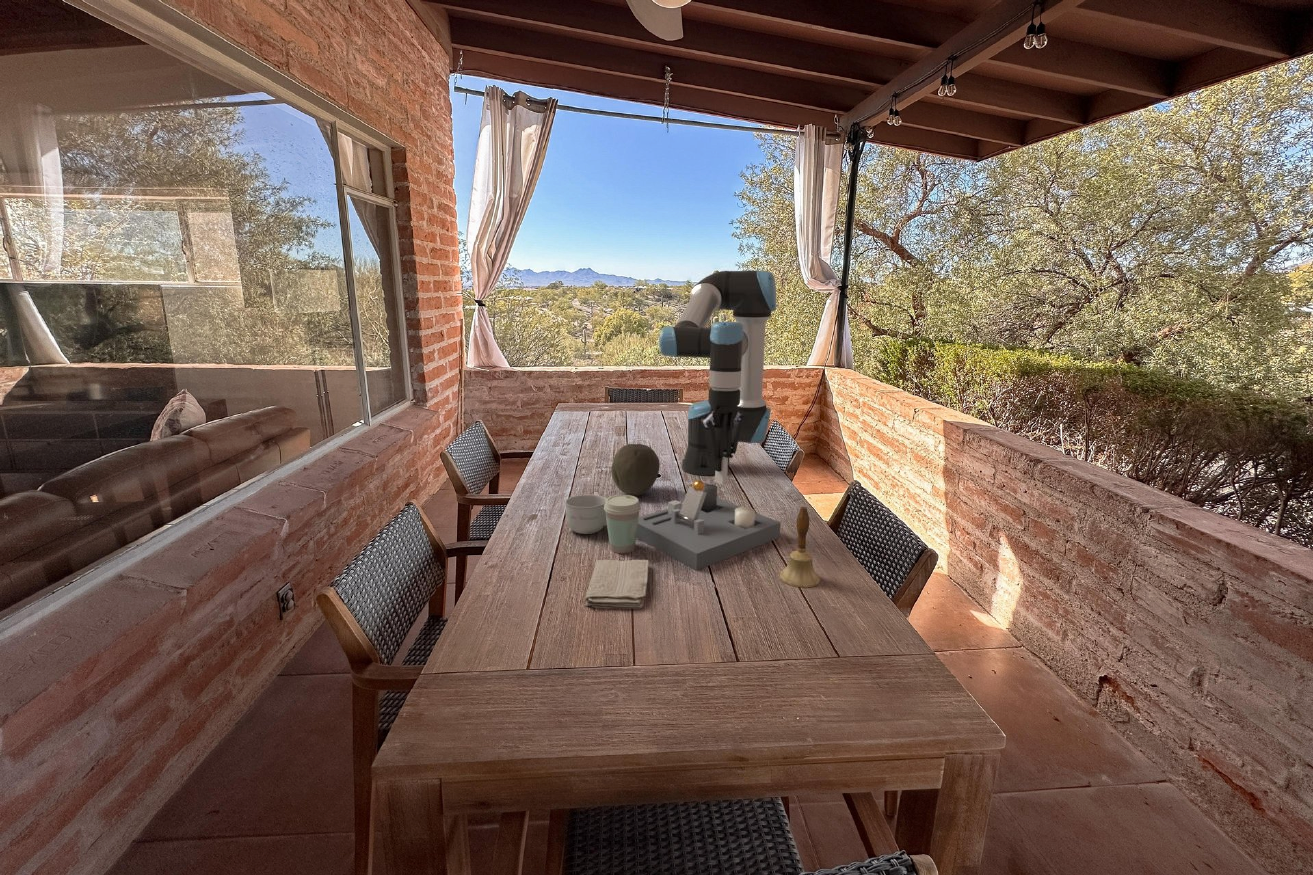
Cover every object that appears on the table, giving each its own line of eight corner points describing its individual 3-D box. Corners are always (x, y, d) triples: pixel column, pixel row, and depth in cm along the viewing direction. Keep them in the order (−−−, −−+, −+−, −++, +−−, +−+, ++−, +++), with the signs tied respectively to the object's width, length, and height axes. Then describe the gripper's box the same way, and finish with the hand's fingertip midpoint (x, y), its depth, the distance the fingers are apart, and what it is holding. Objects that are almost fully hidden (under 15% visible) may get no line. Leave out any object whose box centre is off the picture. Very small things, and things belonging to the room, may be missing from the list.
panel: (711, 509, 161) (712, 485, 159) (779, 537, 143) (781, 510, 141) (630, 534, 144) (630, 508, 142) (696, 570, 126) (697, 540, 124)
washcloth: (583, 611, 111) (583, 596, 110) (595, 567, 128) (594, 554, 127) (646, 612, 110) (646, 597, 110) (649, 568, 128) (649, 555, 127)
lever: (681, 518, 141) (695, 478, 142) (699, 526, 137) (714, 485, 137) (673, 516, 140) (688, 476, 140) (691, 524, 135) (706, 482, 135)
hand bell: (791, 590, 118) (796, 517, 114) (772, 571, 126) (777, 502, 122) (827, 585, 120) (834, 513, 116) (807, 567, 128) (812, 499, 124)
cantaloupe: (658, 502, 166) (659, 451, 162) (609, 501, 166) (608, 451, 162) (659, 485, 179) (660, 439, 176) (614, 485, 180) (613, 438, 176)
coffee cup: (636, 557, 131) (636, 508, 128) (599, 554, 133) (599, 505, 130) (644, 542, 140) (644, 495, 137) (610, 538, 141) (609, 492, 138)
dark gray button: (707, 502, 155) (708, 482, 153) (720, 507, 151) (721, 487, 150) (694, 506, 152) (695, 486, 150) (707, 512, 148) (707, 491, 147)
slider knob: (675, 511, 148) (675, 500, 147) (681, 514, 146) (681, 502, 146) (668, 513, 147) (668, 502, 146) (674, 516, 145) (674, 505, 144)
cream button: (743, 526, 146) (744, 505, 144) (757, 532, 142) (759, 511, 141) (730, 531, 143) (730, 510, 141) (744, 537, 139) (745, 515, 138)
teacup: (556, 532, 145) (555, 502, 143) (582, 518, 154) (581, 489, 152) (603, 544, 138) (603, 513, 136) (627, 528, 148) (627, 498, 146)
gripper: (732, 383, 144) (728, 474, 150) (693, 388, 136) (691, 484, 142) (755, 387, 138) (750, 481, 144) (716, 392, 130) (712, 492, 136)
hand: (720, 482), depth 143 cm, fingers closed
